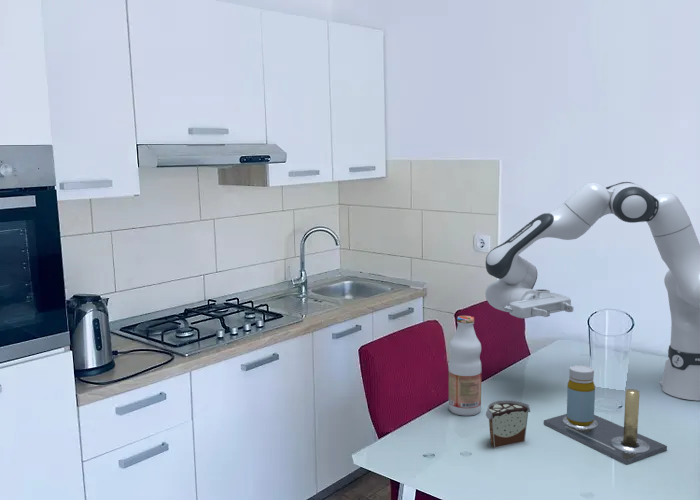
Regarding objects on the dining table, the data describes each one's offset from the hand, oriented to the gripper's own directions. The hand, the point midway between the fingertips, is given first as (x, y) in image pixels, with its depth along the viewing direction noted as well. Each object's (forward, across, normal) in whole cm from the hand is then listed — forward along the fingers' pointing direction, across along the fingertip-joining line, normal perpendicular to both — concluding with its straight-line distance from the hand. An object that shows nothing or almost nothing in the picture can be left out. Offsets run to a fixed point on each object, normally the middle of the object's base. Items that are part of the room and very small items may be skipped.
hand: (560, 311), depth 187 cm
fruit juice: (-11, -26, +28) cm, 40 cm away
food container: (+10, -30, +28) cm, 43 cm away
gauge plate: (+21, -6, +29) cm, 36 cm away
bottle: (+14, -6, +28) cm, 31 cm away
